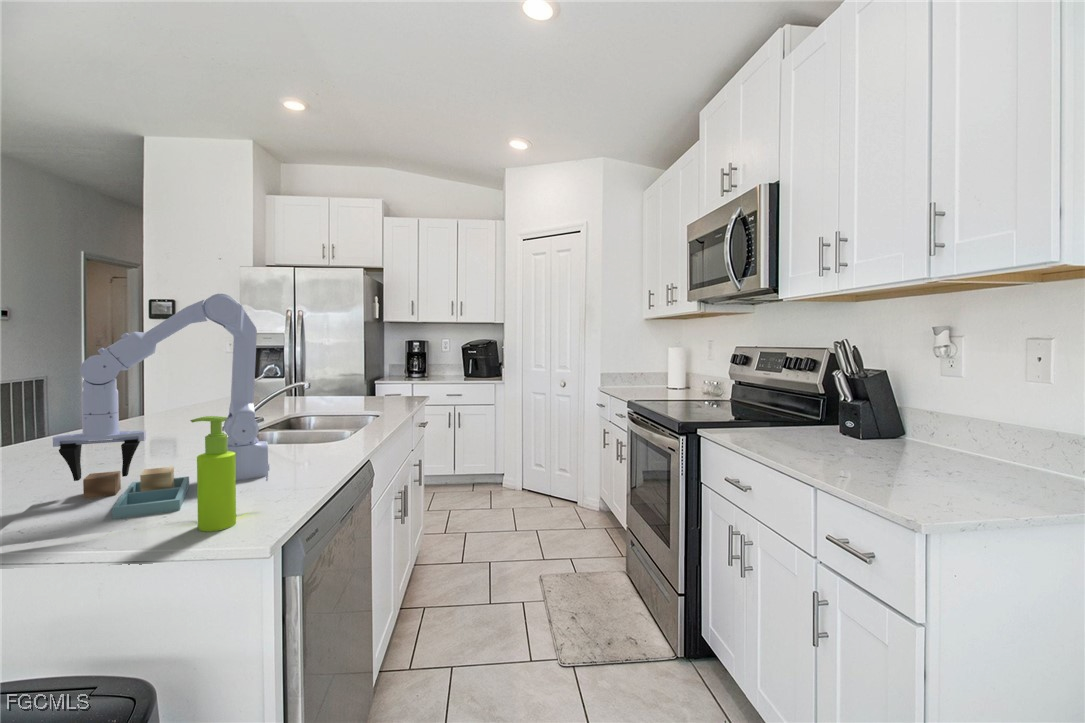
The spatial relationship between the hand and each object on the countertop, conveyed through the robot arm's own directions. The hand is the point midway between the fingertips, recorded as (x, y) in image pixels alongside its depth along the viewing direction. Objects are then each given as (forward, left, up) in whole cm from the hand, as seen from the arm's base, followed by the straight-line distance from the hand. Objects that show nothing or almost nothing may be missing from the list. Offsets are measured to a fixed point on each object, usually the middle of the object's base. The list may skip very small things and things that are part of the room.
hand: (101, 477), depth 106 cm
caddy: (-10, +10, -4) cm, 15 cm away
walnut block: (0, 0, -5) cm, 5 cm away
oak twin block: (-10, +6, -3) cm, 12 cm away
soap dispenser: (-21, +28, -5) cm, 35 cm away
